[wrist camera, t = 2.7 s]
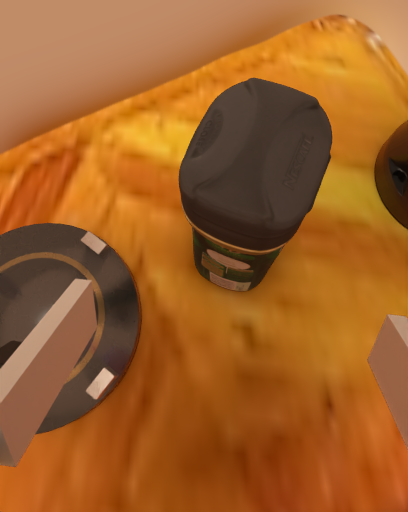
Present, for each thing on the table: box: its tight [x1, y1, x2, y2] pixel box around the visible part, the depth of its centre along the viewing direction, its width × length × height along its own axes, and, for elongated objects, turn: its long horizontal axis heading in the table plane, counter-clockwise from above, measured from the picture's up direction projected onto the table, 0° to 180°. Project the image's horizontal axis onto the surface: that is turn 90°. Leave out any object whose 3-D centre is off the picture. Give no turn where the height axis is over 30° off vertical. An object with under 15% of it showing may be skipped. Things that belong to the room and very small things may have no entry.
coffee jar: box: [179, 78, 332, 291], centre depth 25 cm, size 10×8×19 cm
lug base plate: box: [0, 223, 141, 434], centre depth 31 cm, size 20×20×3 cm
